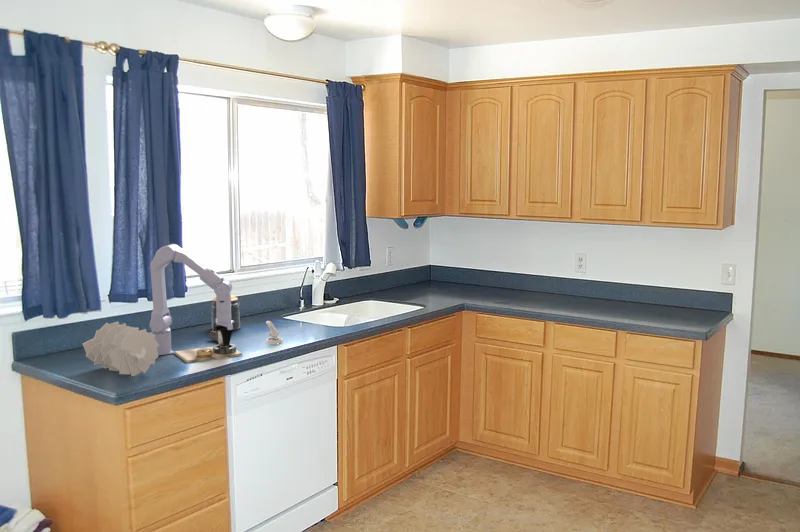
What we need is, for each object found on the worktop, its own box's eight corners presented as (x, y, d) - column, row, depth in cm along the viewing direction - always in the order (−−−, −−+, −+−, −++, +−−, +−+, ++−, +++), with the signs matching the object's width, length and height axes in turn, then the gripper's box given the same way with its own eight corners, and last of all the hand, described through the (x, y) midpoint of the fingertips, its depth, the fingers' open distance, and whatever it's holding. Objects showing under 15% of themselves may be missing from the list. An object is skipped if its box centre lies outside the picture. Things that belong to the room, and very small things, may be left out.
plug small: (199, 358, 268) (199, 353, 268) (194, 355, 273) (194, 349, 273) (214, 356, 271) (214, 351, 271) (209, 353, 276) (209, 347, 276)
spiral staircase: (116, 373, 264) (154, 383, 249) (74, 362, 251) (111, 371, 236) (132, 327, 269) (170, 333, 253) (91, 314, 255) (129, 320, 240)
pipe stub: (220, 351, 276) (219, 332, 275) (217, 349, 280) (216, 330, 279) (230, 350, 278) (229, 330, 277) (227, 347, 282) (226, 328, 280)
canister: (244, 329, 322) (244, 292, 320) (217, 333, 315) (216, 294, 312) (234, 324, 333) (233, 288, 330) (207, 327, 325) (206, 290, 323)
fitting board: (186, 363, 265) (186, 360, 265) (174, 353, 278) (174, 351, 278) (242, 355, 277) (241, 353, 277) (227, 346, 290) (227, 344, 290)
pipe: (216, 339, 304) (216, 321, 303) (234, 343, 296) (234, 325, 295) (204, 341, 299) (204, 323, 298) (222, 346, 291) (222, 327, 290)
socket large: (217, 355, 273) (217, 350, 273) (209, 350, 280) (209, 345, 280) (239, 352, 278) (239, 347, 278) (231, 347, 285) (231, 342, 285)
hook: (253, 333, 294) (259, 321, 299) (267, 352, 300) (273, 340, 305) (267, 331, 291) (273, 319, 296) (281, 350, 297) (287, 338, 302)
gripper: (240, 313, 273) (240, 346, 275) (227, 306, 285) (227, 339, 287) (222, 314, 269) (223, 348, 271) (210, 308, 281) (211, 341, 283)
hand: (224, 344), depth 279 cm, fingers closed on pipe stub, 4 cm apart
